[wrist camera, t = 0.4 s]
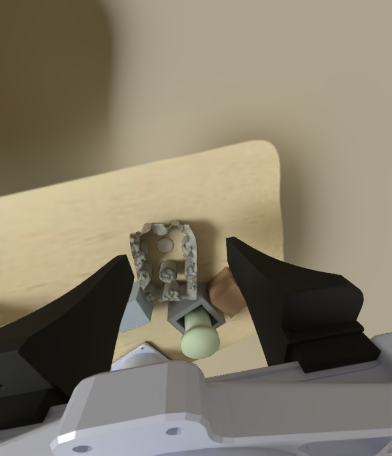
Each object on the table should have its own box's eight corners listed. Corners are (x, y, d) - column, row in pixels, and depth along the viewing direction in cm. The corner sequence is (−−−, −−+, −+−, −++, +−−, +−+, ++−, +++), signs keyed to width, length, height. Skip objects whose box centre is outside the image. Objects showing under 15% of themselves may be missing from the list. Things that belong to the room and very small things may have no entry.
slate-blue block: (129, 308, 25) (121, 333, 22) (116, 289, 24) (105, 311, 20) (154, 299, 25) (150, 322, 22) (141, 279, 24) (135, 299, 20)
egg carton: (134, 220, 21) (125, 231, 17) (193, 217, 22) (197, 227, 18) (144, 289, 25) (138, 311, 21) (195, 285, 25) (198, 305, 22)
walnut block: (223, 297, 27) (231, 317, 23) (206, 283, 25) (211, 303, 22) (242, 280, 26) (253, 299, 22) (225, 266, 25) (234, 283, 21)
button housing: (191, 325, 28) (192, 343, 25) (168, 304, 26) (167, 320, 23) (220, 306, 27) (225, 322, 24) (199, 283, 25) (202, 297, 22)
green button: (193, 332, 26) (196, 364, 22) (173, 314, 24) (173, 345, 20) (218, 316, 25) (227, 345, 21) (200, 297, 24) (205, 324, 19)
